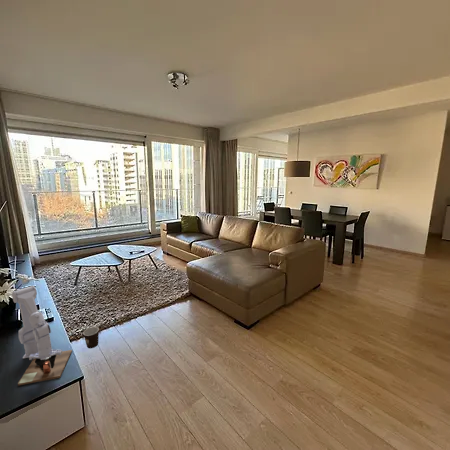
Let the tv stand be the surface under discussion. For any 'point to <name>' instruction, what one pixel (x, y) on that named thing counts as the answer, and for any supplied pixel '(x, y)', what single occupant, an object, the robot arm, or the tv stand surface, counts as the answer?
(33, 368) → the light wood flat board
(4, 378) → the tv stand surface
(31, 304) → the robot arm
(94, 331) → the coffee mug
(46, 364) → the lever
